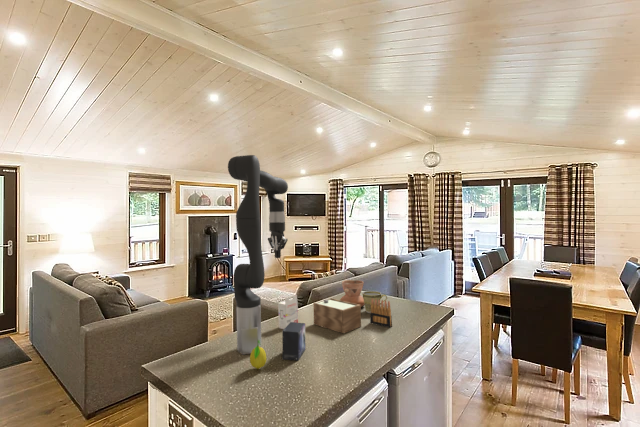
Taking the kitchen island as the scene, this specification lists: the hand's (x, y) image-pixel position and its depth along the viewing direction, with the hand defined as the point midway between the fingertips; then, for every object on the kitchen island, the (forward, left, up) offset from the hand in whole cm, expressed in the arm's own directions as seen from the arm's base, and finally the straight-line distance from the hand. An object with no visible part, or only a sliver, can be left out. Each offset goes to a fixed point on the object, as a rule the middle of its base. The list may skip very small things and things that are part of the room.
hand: (277, 257), depth 158 cm
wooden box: (-8, -26, -32) cm, 42 cm away
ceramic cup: (+6, -52, -32) cm, 61 cm away
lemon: (-43, +13, -32) cm, 55 cm away
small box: (-35, -1, -32) cm, 48 cm away
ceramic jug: (+20, -45, -32) cm, 59 cm away
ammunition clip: (-14, -46, -32) cm, 58 cm away
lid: (-8, -26, -24) cm, 36 cm away
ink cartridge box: (-3, -4, -32) cm, 33 cm away
